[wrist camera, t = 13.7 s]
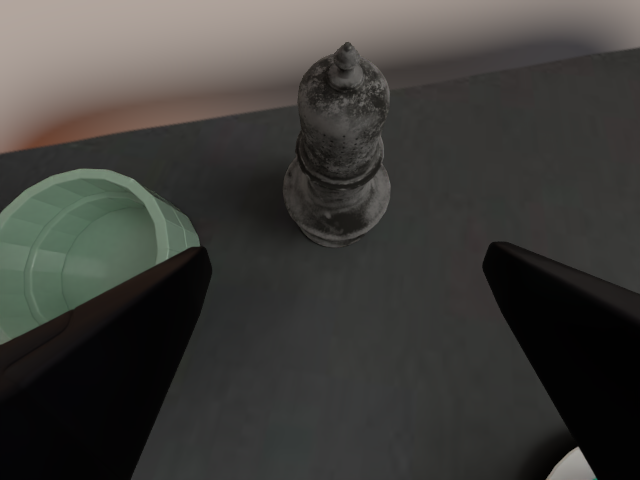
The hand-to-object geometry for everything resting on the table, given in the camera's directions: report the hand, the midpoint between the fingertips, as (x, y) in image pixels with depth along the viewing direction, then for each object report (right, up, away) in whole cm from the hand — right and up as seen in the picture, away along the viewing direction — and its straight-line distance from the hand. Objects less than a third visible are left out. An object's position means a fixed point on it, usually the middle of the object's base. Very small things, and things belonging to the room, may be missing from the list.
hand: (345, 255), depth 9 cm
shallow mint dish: (-13, -1, +9) cm, 16 cm away
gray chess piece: (0, +3, +10) cm, 10 cm away
